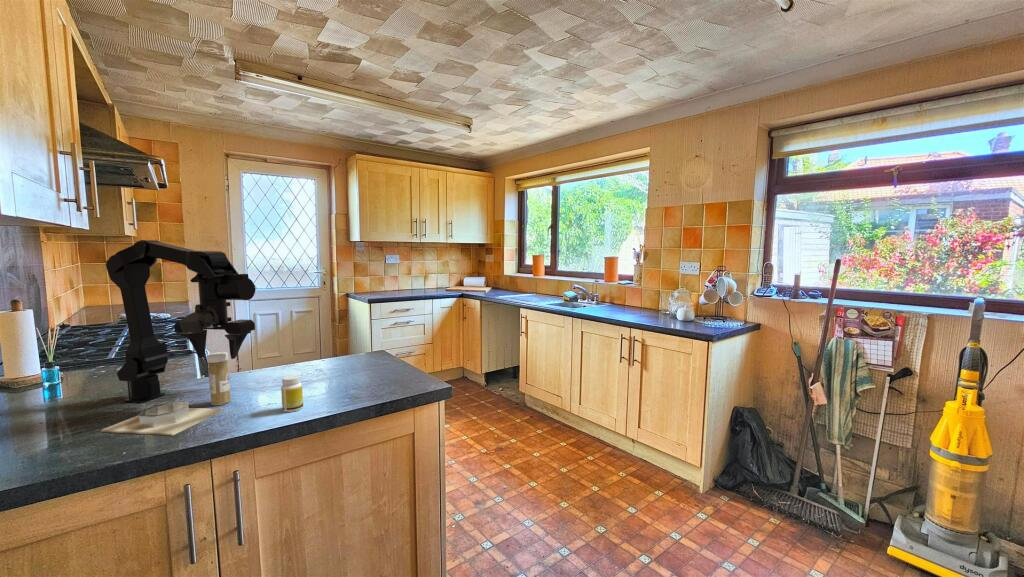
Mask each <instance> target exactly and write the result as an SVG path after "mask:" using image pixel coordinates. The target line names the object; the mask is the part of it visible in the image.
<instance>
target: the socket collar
mask: <svg viewBox="0 0 1024 577" xmlns="http://www.w3.org/2000/svg"><path fill="white" fill-rule="evenodd" d="M189 404H190V403H189V402H188V401H187V402H185V401H172V402H167V403H161V404H155V405H152V406H151V407H148V408H144V409H142V410H140V412H139V414H138V415H139V421H140V427H159V426H164V425H169V424H173V423H177V422H179V421H181V420H183V419H186V418H188V417H190V416H189V408H190V406H189Z"/></svg>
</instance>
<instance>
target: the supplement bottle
mask: <svg viewBox="0 0 1024 577" xmlns="http://www.w3.org/2000/svg"><path fill="white" fill-rule="evenodd" d="M281 382H282V385H281V387H280V390H281V408H282V411H283V412H285V413H293V412H297V411H300V410H301V409H303V408H304V396H303V383H302V382H301V376H300V375H299V374H290V375H286V376H283V377H282V378H281Z"/></svg>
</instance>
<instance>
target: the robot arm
mask: <svg viewBox="0 0 1024 577" xmlns="http://www.w3.org/2000/svg"><path fill="white" fill-rule="evenodd" d="M158 259H159V260H164V261H167V262H172V263H175V264H180V265H182V266H185V267H186V268H187V269H188V270H190V271H191V272H193V273H196V275H195V276H194V277H192V278H191V279H190V282H191V283H197V284H198V285H197V286H198V297H199V303H198V304H195V306H194V311H193V312H191V313H189V314H187V315H186V316H184V317H183V318H181V319H179V320H177V321H176V322H175V323H174V325H173V327H174V333H177V334H178V335H179V336H180V337H181V336H182V337H185V339H188V340H189V343H190V344H191V346H193V348H194V351H195V353H196V355H197V356H198V358H199V359H203V358H204V357H205V353H206V345H207V335H208V330H216V331H217V330H222V331H223V330H224V331H225V333H227V334H224V337H225V338H226V339H227V340H228V347H229V356H230V359H231V360H234V359H236V358H237V356H238V353H239V351H240V349H241V347H242V344H243V343H244V341H245V340H246V337H248V336H247V335H249V334H251V333H252V331H255V330H256V325H255V321H253V320H252V319H236V320H232V317H231V316H230V317H229V316H228V315H229V314H228V307H230V306H231V301H250V300H252V298H254V296H255V294H256V285H255V283H254V281H253V280H252V279H251V278H249V274H248V273H239V272H238V271H237V270H236V269H235V267H234V265H232V263H231V262H230V260H229V259H228V257H227V255H226V253H225V252H223V251H220V250H217V251H216V250H194V249H191V248H187V247H186V248H185V247H182V246H177V245H174V244H168V243H165V242H161V241H160V240H155V239H152V240H151V239H141V240H138V241H136V242H134V244H132V245H130V246H128V247H126V248H124V249H122V250H118V251H117V252H116V253H115V254H113V255H111V256H110V257H109V258H108V259H107V260H106V262H105V268H106V271H107V275H108V276H109V280H111V282H112V283H113V284H114V285H115V286H116V287H117V288H119V289H120V293H121V298H122V299H121V300H122V304H123V308H124V314H125V319H126V324H127V329H128V333H129V338H130V342H129V345H128V347H127V349H126V351H125V353H124V355H125V363H124V364H123V365H122V366H121V367H120V369H119V370H118V371H117V372H116V376H117V378H118V381H119V382H127V383H126V385H127V391H128V392H127V393H128V397H127V398H124V399H123V400H122V402H126V403H127V402H128V403H146V402H149V401H151V400H154V399H157V398H159V397H161V396H164V395H166V392H163V391H162V392H161V384H160V383H161V382H160V380H159V375H158V374H161V373H162V374H163V373H165V371H166V367H167V364H168V360H169V357H170V355H169V352H168V347H167V343H166V342H160V341H159V340H158V339H157V338H156V337H155V336H156V335H155V332H154V326H153V321H152V315H151V311H150V305H149V301H148V296H147V290H146V285H147V282H148V281H149V280H150V277H151V267H153V266H154V265H155V264H156V263H157V262H158Z"/></svg>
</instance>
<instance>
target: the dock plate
mask: <svg viewBox="0 0 1024 577" xmlns="http://www.w3.org/2000/svg"><path fill="white" fill-rule="evenodd" d="M223 411H224V409H221V408H203V407H201V408H200V407H199V408H197V407H189V416H190V417H188V418H186V419H183V420H181V421H179V422H177V423H173V424H169V425H164V426H159V427H140V421H139V415H140V414H138V415H136V416H132V417H130V418H128V419H125V420H123V421H120V422H118V423H115V424H112V425H110V426H108V427H105V428H103V429H101V430H100V431H101V433H102V432H103V433H117V434H118V433H120V434H139V435H140V434H141V435H143V434H144V435H158V436H159V435H160V436H174V435H177V434H178V433H181V432H182V431H185V430H187V429H189V428H191V427H192V426H195V425H197V424H199V423H202V422H203V421H205V420H208V419H210V418H211V417H214V416H215V415H217V414H219V413H221V412H223Z"/></svg>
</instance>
